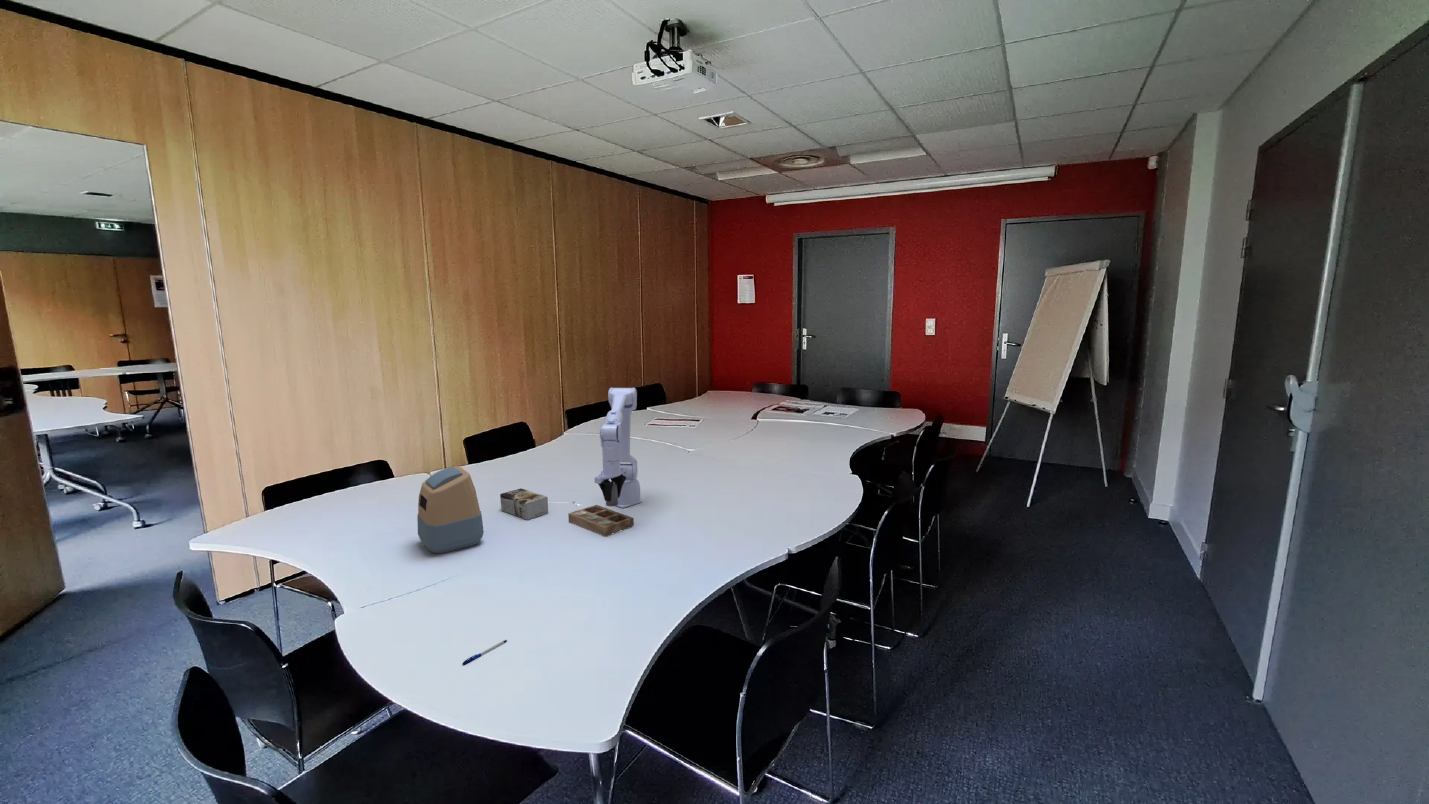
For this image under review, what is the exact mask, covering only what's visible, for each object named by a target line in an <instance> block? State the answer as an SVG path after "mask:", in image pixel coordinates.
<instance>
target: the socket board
mask: <svg viewBox="0 0 1429 804" xmlns="http://www.w3.org/2000/svg"><path fill="white" fill-rule="evenodd" d="M568 522H569V523H571V524H573V525H575V524H576V525H575V526H578V527H581V528H583V527H584V528H583V529H585V528H586V530H587V531H590V530H591V531H590V532H593V533H596V534H598V533H599V534H598V535H600V534H601V535H600V536H603V537H605V536H606V537H608V535H609V536H611V535H613V534H612V533H614V534H617V533H619V532H618V531H620V530H622V531H624V529H625V530H627V529H626V528H628V527H630V528H632V526H633V527H634V526H635V525H634V517H632V516H630V515H626V514H624V513H621V512H619V511H615V510H613V509H610V508H607V507H603V506H601V505H598V504H595V505H591V506H588V507H584V508H581V509H579V510H578V509H577V510H575V511H572V512H568ZM628 529H629V528H628ZM616 532H617V533H616ZM620 532H621V531H620Z"/></svg>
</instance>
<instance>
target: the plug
mask: <svg viewBox="0 0 1429 804" xmlns="http://www.w3.org/2000/svg"><path fill="white" fill-rule="evenodd" d="M616 505H618V492H617V483H615V482H614V484H613V486H612V491H611V501H605V506H606V507H617V506H616Z"/></svg>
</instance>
